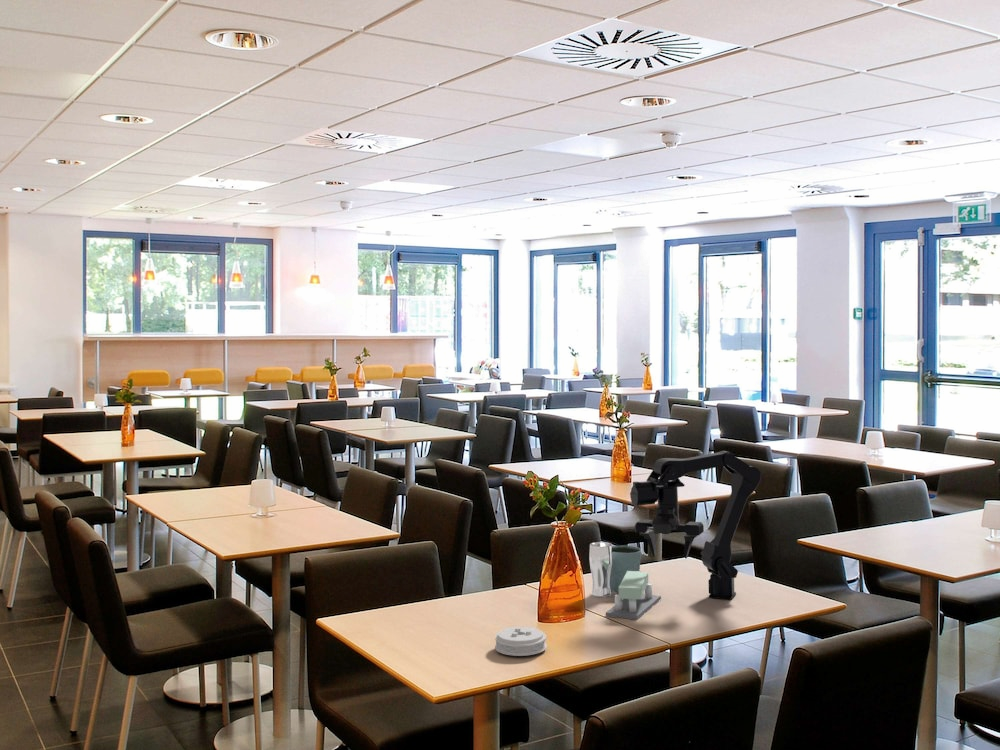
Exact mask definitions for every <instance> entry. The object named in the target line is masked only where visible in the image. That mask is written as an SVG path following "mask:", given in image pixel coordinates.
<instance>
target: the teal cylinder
mask: <svg viewBox="0 0 1000 750" xmlns="http://www.w3.org/2000/svg"><path fill="white" fill-rule="evenodd" d="M612 551H613V568H612V575H611V589H612V591H613V590H614V592H617V591H619V586H620V584H621V582H622V580H623V578H624V576H625V574H626V573H627V571H640V569H641V558H642V549H641V548H640V547H637V546H633V545H632V546H631V545H615V546H613V545H612Z"/></svg>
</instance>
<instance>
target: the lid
mask: <svg viewBox="0 0 1000 750" xmlns="http://www.w3.org/2000/svg"><path fill="white" fill-rule="evenodd" d="M494 640H495V646H494V649H495V650H496V651H497V653H499V654H502V655H505V656H506V655H507V656H514V657H517V656H518V657H523V656H531V655H532V656H533V655H537V654H540V653H543V652H544V651H545V650H546V649H547V646H548V645H547V644H546V640H547V634H546V633H545V632H544V631H542V630H541V629H539V628H537V627H531V626H512V627H508V628H504V629H502V630H500V631H499V632H498V633H496V634H495V636H494Z"/></svg>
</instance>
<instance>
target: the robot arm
mask: <svg viewBox="0 0 1000 750" xmlns="http://www.w3.org/2000/svg"><path fill="white" fill-rule="evenodd" d="M719 467H720V468H721V467H723V468H725V470H726V472H728V473H729V474H731V480H730V485H731V492H730V495H729V497H728V500H727V504H726V506H725V510H724V511H723V514H722V518H721V520H720V523H719V525H718V528H717V531H716V534H715V536H714V538H713V539H712V540H711V541H707V540H705V542H704V546H703V548H702V551H701V552H700V555H701V561H702V562H701V563H702V564H703V566H704V567H706V569H707V571H708V573H710V577H709V579H708V598H713V599H723V600H732V599H733V598H734V597H735V596H736V595H737V592H736V591H735V579H736V578H737V576H738V573H739V569H737V568H736V567H735V566H733V564H732V563H731V559H732V541H733V540H734V536H735V532H736V531H737V528H738V525H739V522H740V520H741V518H742V514H743V511H744V509H745V506H746V503H747V500H748V498H749V497H750V496H751V495H752V494H753V493H754V492H755V491H756V489H757V488H758V486H759V484H760V483H761V479H762V474H761V471H760V469H758V467H755V466H751V465H749V464H748V463H746V462H745V461H743V460H741V459H740V458H738V457H737V456H736V455H734V453H732V452H730V451H726V450H721V451H718V452H713V453H708V454H702V455H697V456H691V457H685V458H676V457H675V458H673V457H663V458H662V457H661V458H659V459H657V460H656V461H655V462H654V465H653V469H652V471H651V473H650V474H649V476H648V477H647V479H646V481H633V482H632V486H631V488H630V493H629V495H630V501H631V502H630V503H632V506H634V507H639V506H640V507H641V506H650V505H655V504H656V503H657V507H656V514H655V516H654V518H653V519H646V518H645V519H639V520H638V521H636V522H635V523H634V532H635V533H639V535H640V536H643V537H644V539H645V540H646V542H647V544H648V546H649V549H650V552H651V554H652V556H653V557H656V556H657V555H656V554H657V544H656V535H658V534H664V535H669V534H671V533H672V531H673V532H684V533H685V535H684V536H683V538H684V552H683V553H684V559H687V558H688V556H689V552H690V550H691V548H692V544H693V542H694V540H695V539H696V538H697V537H698V536H701V534H702V533H704V530H705V529H704V524H703V522H702V521H688V522H687V523H686V524H681V520H680V518H679V517H680V516H679V510H680V505H679V498H678V497H679V496H678V494H679V493H678V488H683V487H685V486H686V485H685V483H684V482H682V481H681V480H680V478H681V477H682V478H683V477H684V476H686V475H688V474H690V473H693V472H694V473H695V472H698V471H705V470H709V469H710V470H711V469H714V468H719Z"/></svg>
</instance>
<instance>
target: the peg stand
mask: <svg viewBox="0 0 1000 750" xmlns="http://www.w3.org/2000/svg"><path fill="white" fill-rule="evenodd" d="M660 599H662V596H661V595H655V594H653V584H652V583H649V582H648V584H647V586H646V589H645V591H644V593H643V596H642V598H641V599H624V598H619V594H615V595H614V605H613V606H612V607H610V608H609V609H608V610H607V611H606V612H605V617H608V618H609V617H610V618H611V617H613V618H620V619H626V620H627V619H628V620H637V621H638V620H639V619H641V617H642V616H643V615H645V614H646V613H647V612H649V611H650V609H652V608H653V607H654V606H655V605H656V604H658V603H659V602H660V601H661V600H660ZM659 600H660V601H659ZM653 605H654V606H653ZM652 606H653V607H652ZM644 613H645V614H644Z"/></svg>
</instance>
